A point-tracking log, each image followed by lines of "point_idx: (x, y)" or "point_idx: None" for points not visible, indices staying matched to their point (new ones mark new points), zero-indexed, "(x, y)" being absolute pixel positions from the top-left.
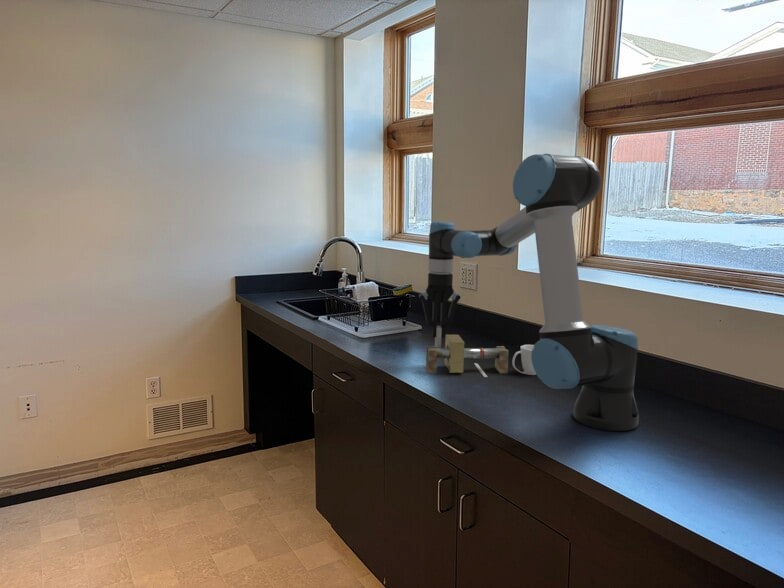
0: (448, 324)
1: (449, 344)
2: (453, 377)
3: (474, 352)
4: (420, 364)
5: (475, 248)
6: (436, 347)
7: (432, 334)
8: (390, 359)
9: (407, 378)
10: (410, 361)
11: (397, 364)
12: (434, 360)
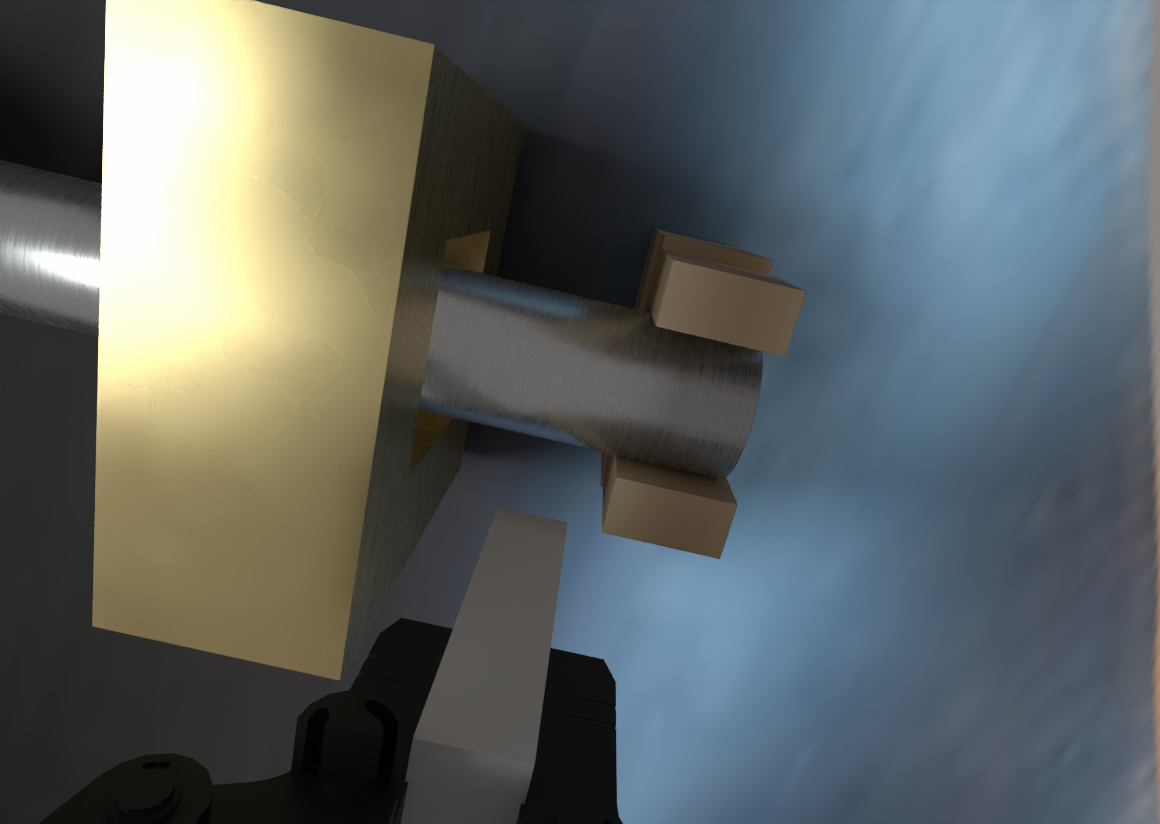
0: (184, 781)
1: (429, 246)
2: (519, 34)
3: (43, 183)
4: (686, 567)
5: None
6: (563, 526)
7: (610, 711)
8: (901, 772)
9: (1055, 132)
10: (742, 675)
11: (912, 620)
12: (693, 255)
